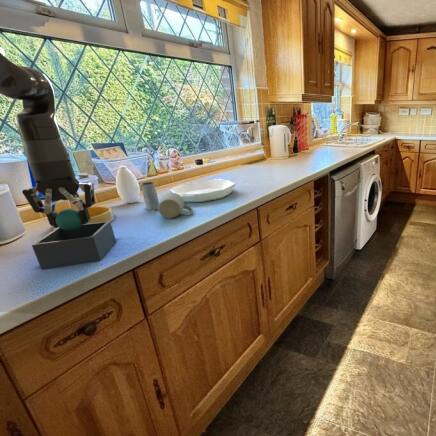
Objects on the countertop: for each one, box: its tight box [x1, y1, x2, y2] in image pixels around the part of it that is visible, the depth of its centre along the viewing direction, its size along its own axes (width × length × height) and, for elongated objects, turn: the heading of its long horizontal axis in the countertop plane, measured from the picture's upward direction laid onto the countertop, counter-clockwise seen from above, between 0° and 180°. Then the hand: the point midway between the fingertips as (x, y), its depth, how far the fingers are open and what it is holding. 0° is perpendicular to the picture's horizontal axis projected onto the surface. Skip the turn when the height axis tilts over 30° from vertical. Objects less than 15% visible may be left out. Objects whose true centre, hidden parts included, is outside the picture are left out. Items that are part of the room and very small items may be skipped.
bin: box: [31, 221, 117, 270], centre depth 79 cm, size 12×12×6 cm
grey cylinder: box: [140, 181, 160, 211], centre depth 115 cm, size 4×4×10 cm
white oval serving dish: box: [168, 178, 236, 203], centre depth 133 cm, size 31×26×4 cm
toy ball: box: [55, 208, 83, 231], centre depth 77 cm, size 6×6×6 cm
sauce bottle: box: [115, 160, 141, 204], centre depth 124 cm, size 8×8×18 cm
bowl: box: [52, 205, 114, 230], centre depth 102 cm, size 16×16×4 cm
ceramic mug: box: [157, 192, 194, 219], centre depth 108 cm, size 11×8×8 cm
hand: (71, 224), depth 77 cm, fingers closed on toy ball, 5 cm apart
